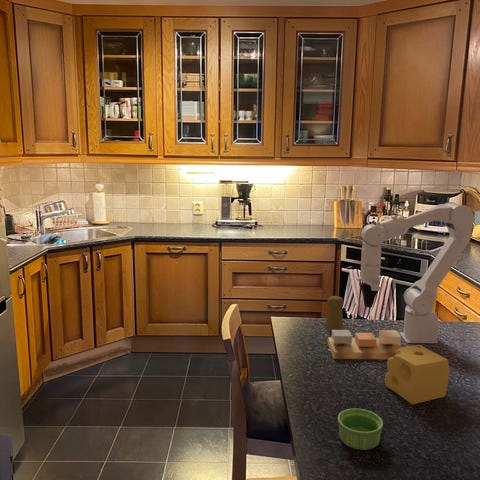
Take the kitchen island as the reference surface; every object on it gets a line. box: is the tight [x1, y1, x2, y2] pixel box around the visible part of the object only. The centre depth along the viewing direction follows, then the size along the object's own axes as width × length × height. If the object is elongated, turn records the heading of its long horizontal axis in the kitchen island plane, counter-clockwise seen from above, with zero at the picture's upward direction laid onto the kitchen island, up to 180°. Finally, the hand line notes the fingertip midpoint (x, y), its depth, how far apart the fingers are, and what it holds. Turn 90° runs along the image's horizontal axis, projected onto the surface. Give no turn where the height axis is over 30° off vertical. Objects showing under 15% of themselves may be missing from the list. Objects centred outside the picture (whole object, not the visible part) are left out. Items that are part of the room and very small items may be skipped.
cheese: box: [384, 344, 450, 405], centre depth 118 cm, size 10×11×10 cm
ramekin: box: [337, 408, 384, 451], centre depth 99 cm, size 9×9×4 cm
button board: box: [327, 336, 402, 360], centre depth 142 cm, size 20×11×3 cm, turn 88°
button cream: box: [378, 329, 402, 345], centre depth 141 cm, size 5×5×2 cm
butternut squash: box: [324, 295, 345, 333], centre depth 159 cm, size 6×6×11 cm
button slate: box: [331, 329, 353, 344], centre depth 142 cm, size 5×5×2 cm
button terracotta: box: [354, 332, 377, 347], centre depth 142 cm, size 5×5×2 cm
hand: (368, 306), depth 150 cm, fingers closed
